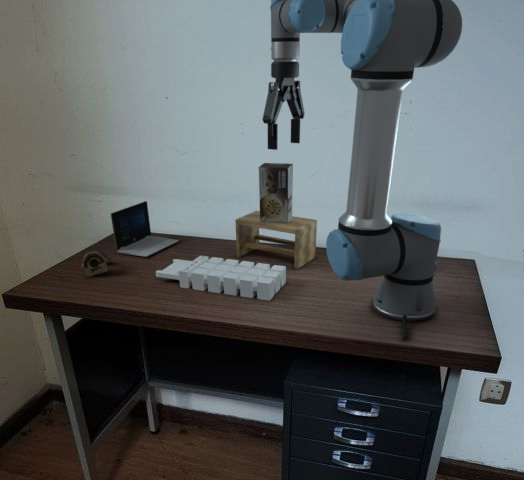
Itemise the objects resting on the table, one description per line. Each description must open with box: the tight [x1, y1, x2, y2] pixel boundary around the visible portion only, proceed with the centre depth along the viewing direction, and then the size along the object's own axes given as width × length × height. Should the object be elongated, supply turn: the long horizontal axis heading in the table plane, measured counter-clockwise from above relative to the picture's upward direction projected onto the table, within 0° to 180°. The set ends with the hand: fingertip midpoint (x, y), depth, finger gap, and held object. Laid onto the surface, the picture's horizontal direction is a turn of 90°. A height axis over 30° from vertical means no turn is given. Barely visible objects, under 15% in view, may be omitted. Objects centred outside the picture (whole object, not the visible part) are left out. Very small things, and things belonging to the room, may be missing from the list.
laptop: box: [110, 200, 180, 258], centre depth 165 cm, size 18×12×13 cm
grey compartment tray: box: [155, 255, 287, 302], centre depth 140 cm, size 13×5×35 cm
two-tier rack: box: [234, 210, 318, 270], centre depth 156 cm, size 12×22×12 cm, turn 58°
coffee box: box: [258, 162, 294, 223], centre depth 149 cm, size 9×6×16 cm
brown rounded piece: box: [80, 250, 113, 277], centre depth 149 cm, size 7×13×10 cm
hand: (284, 146), depth 143 cm, fingers open, 13 cm apart
